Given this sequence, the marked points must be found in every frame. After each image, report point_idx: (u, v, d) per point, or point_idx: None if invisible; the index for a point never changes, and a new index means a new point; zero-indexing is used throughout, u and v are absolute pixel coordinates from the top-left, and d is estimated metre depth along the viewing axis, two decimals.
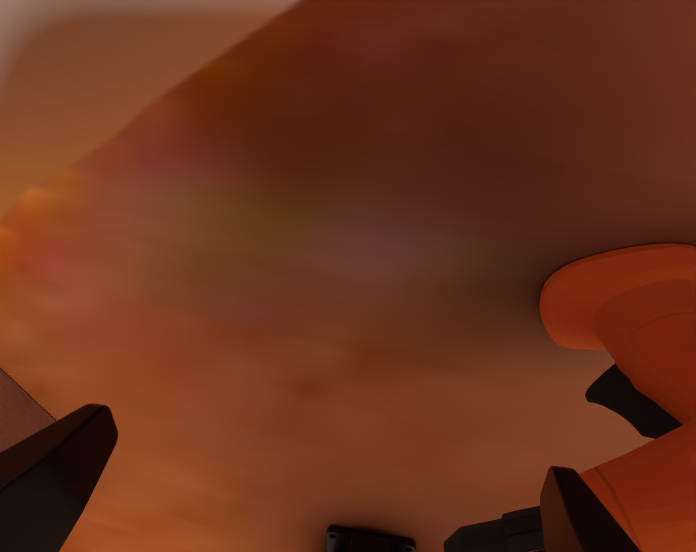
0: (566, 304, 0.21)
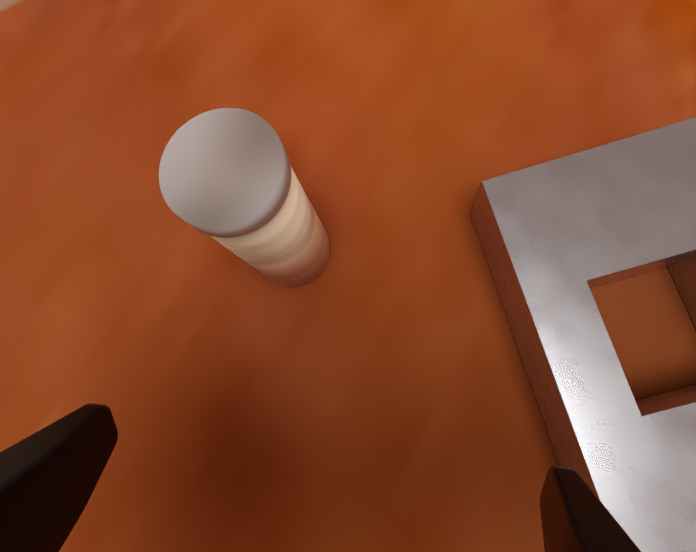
0: None
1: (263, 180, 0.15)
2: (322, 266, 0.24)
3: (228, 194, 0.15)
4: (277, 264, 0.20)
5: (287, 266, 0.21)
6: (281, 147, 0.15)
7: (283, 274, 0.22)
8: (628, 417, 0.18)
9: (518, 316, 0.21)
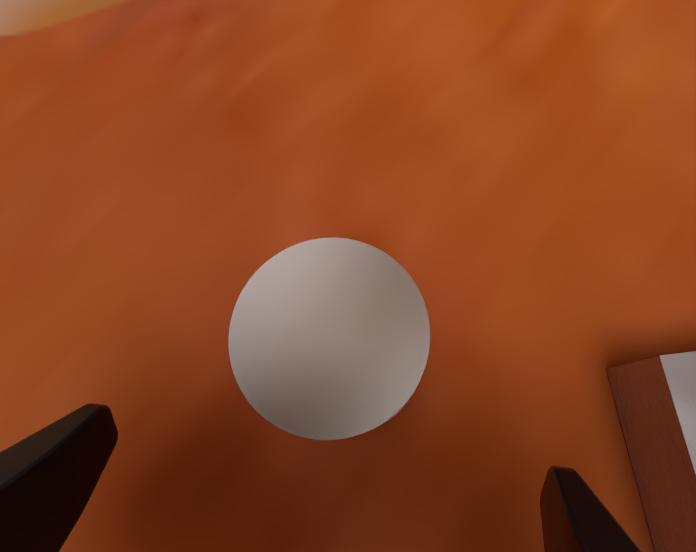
0: None
1: (393, 371, 0.09)
2: None
3: (334, 383, 0.09)
4: None
5: None
6: (427, 319, 0.10)
7: None
8: None
9: (684, 551, 0.15)
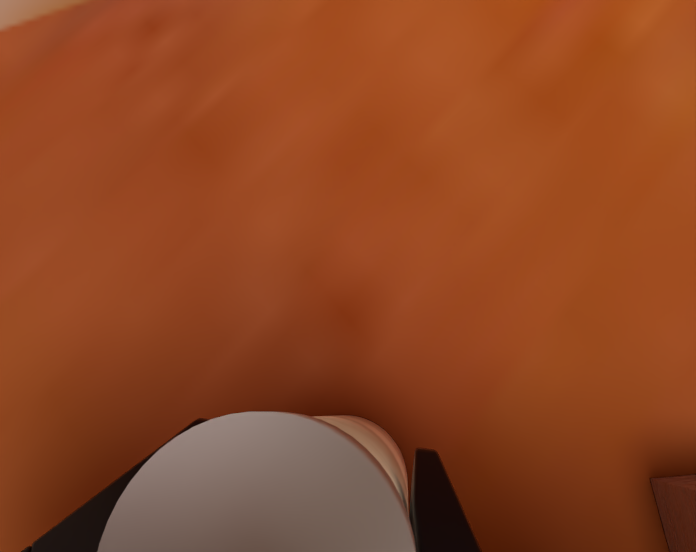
0: None
1: None
2: None
3: None
4: None
5: None
6: None
7: None
8: None
9: None
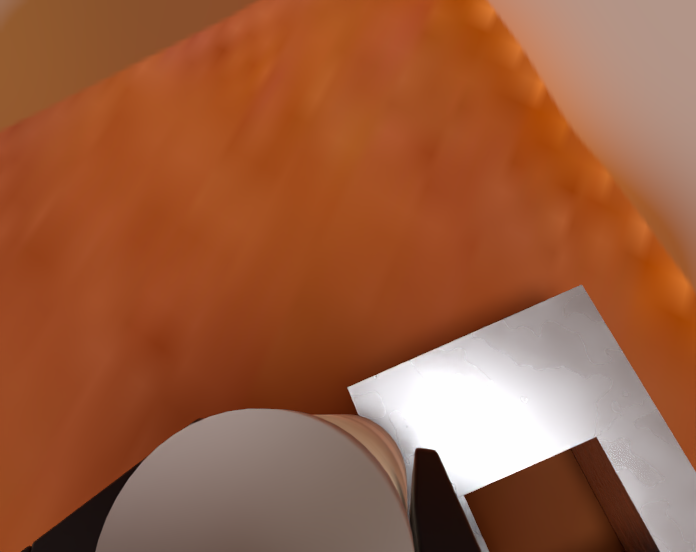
0: None
1: None
2: None
3: None
4: None
5: None
6: None
7: None
8: None
9: None
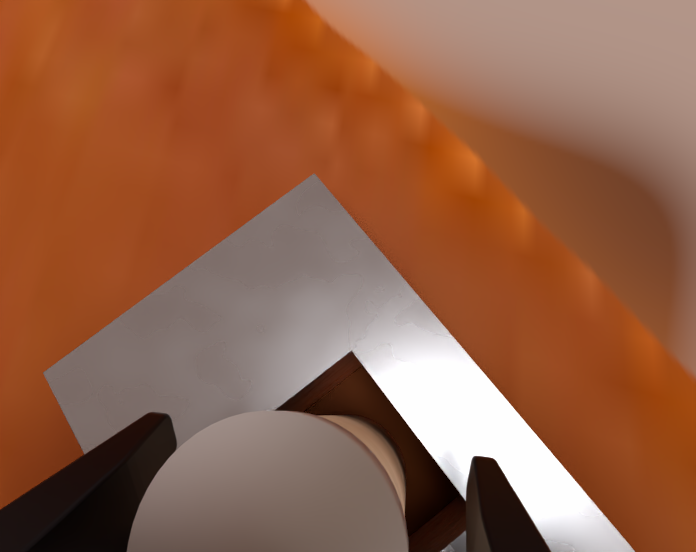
0: None
1: None
2: None
3: None
4: None
5: None
6: (405, 547, 0.07)
7: None
8: None
9: None
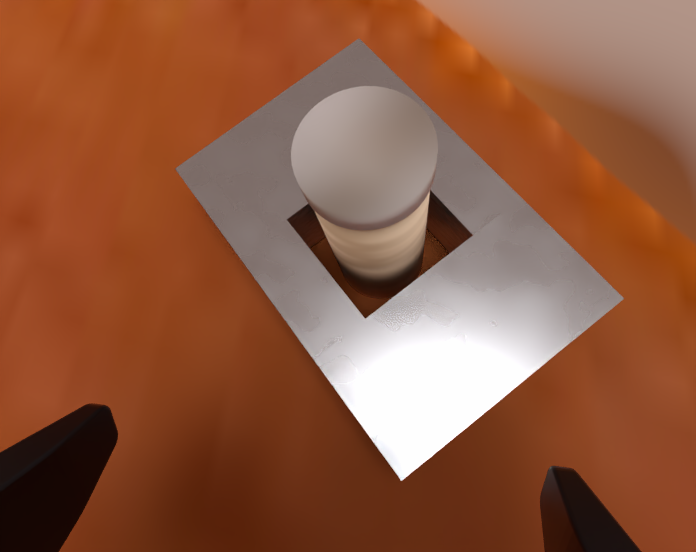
0: None
1: (411, 171, 0.13)
2: (413, 281, 0.22)
3: (369, 180, 0.13)
4: (379, 270, 0.18)
5: (387, 274, 0.19)
6: (435, 137, 0.13)
7: (377, 283, 0.20)
8: (354, 324, 0.18)
9: None
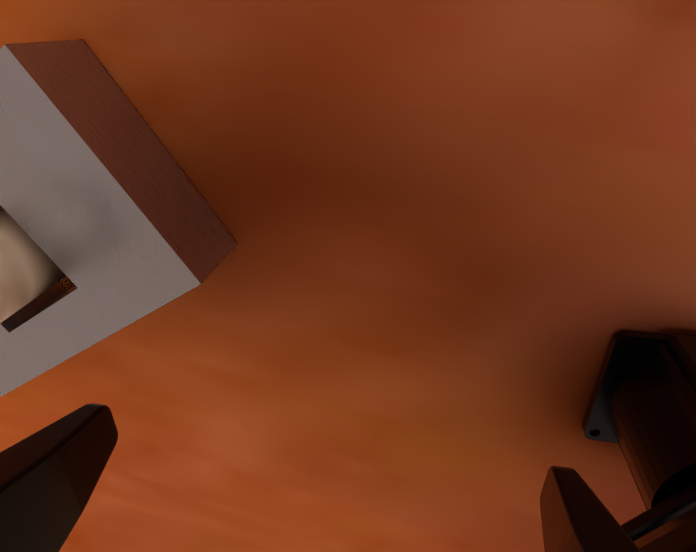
0: None
1: None
2: None
3: None
4: (27, 277, 0.20)
5: (36, 263, 0.20)
6: None
7: None
8: (84, 297, 0.21)
9: None
